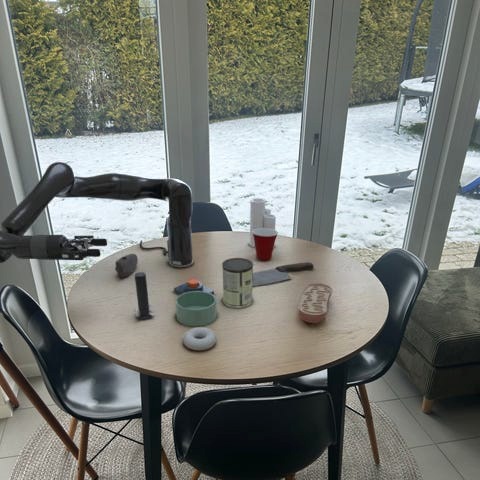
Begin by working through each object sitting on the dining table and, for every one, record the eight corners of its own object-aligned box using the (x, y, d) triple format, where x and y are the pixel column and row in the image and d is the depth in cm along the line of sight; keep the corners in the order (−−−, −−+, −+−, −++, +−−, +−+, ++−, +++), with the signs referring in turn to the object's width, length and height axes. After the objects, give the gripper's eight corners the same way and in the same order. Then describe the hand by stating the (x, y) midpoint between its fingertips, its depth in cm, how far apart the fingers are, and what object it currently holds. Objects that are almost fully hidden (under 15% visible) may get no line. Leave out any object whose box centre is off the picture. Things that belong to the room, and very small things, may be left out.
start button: (186, 285, 167) (186, 281, 166) (194, 282, 169) (193, 278, 168) (192, 289, 165) (192, 284, 164) (200, 285, 167) (200, 281, 166)
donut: (215, 334, 145) (183, 334, 144) (215, 324, 143) (182, 325, 142) (217, 352, 136) (182, 353, 136) (217, 342, 135) (182, 343, 134)
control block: (174, 292, 169) (173, 283, 168) (192, 284, 175) (191, 276, 173) (195, 303, 162) (195, 294, 160) (214, 295, 167) (213, 286, 166)
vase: (248, 246, 208) (248, 201, 198) (251, 240, 214) (252, 197, 204) (273, 248, 206) (275, 203, 196) (276, 243, 212) (278, 198, 202)
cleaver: (307, 264, 191) (307, 259, 190) (320, 273, 184) (321, 268, 183) (241, 278, 180) (241, 273, 179) (253, 288, 173) (253, 283, 172)
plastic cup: (280, 256, 199) (282, 228, 193) (271, 265, 191) (272, 237, 185) (257, 251, 203) (258, 224, 197) (247, 260, 194) (247, 232, 188)
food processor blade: (127, 319, 152) (121, 277, 145) (141, 308, 159) (136, 267, 151) (148, 324, 150) (143, 281, 142) (161, 313, 156) (158, 271, 148)
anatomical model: (324, 330, 147) (325, 316, 145) (292, 325, 149) (293, 311, 147) (332, 297, 166) (333, 285, 164) (304, 294, 168) (305, 281, 166)
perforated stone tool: (131, 264, 191) (129, 247, 187) (143, 265, 190) (141, 249, 186) (112, 279, 178) (110, 262, 175) (125, 281, 177) (123, 263, 174)
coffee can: (228, 292, 169) (228, 255, 162) (256, 297, 166) (257, 259, 159) (218, 305, 161) (217, 267, 154) (246, 310, 158) (247, 271, 151)
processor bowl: (168, 316, 154) (167, 299, 151) (198, 303, 162) (197, 287, 159) (194, 330, 146) (193, 314, 143) (224, 316, 154) (224, 300, 151)
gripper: (59, 250, 150) (110, 250, 150) (43, 268, 138) (99, 268, 138) (54, 227, 146) (107, 227, 146) (38, 244, 134) (95, 244, 134)
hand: (103, 247), depth 142 cm, fingers open, 8 cm apart
